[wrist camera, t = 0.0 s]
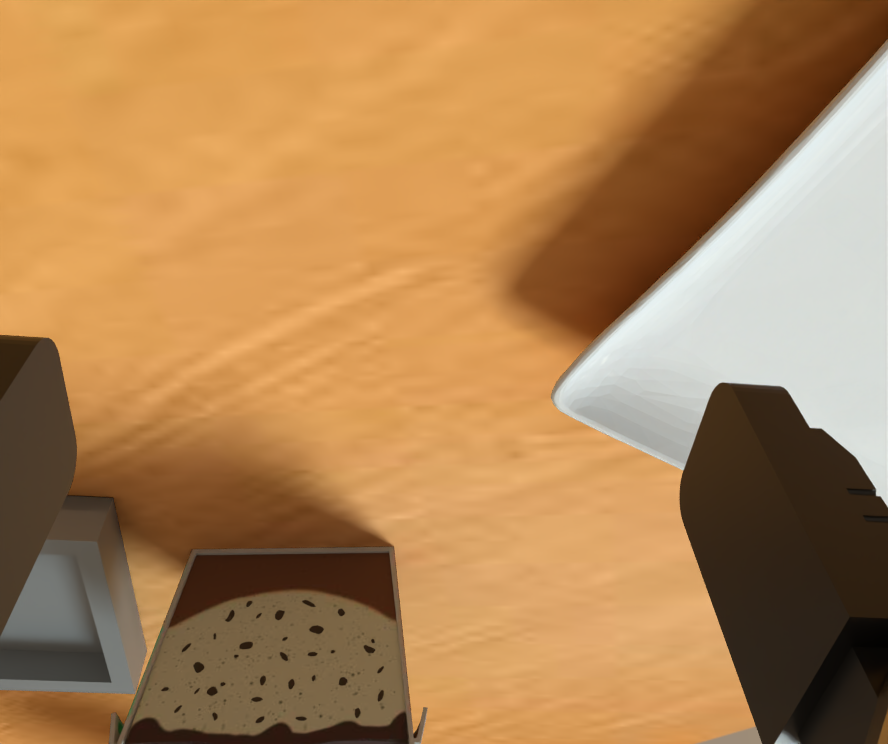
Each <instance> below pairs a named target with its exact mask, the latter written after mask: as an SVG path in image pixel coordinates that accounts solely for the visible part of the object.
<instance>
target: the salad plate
mask: <svg viewBox="0 0 888 744" xmlns="http://www.w3.org/2000/svg"><path fill="white" fill-rule="evenodd" d="M722 382H724V383H740V384H756V385H771V386H781V387H784V388H785V389H786V390H787V391H788V392H789V394H790V395H791V397H792V399H793V400H794V402H795V404H796V405H797V407H798V409H799V410H800V412H801V414H802V415H803V417H804V419H805V420H806V422H807V424H808V425H809V427H810V428H822V429H823V430H824V431H825V432H827V433H828V434H829V435H830V436H831V437H832V438H834V439H835V440H836V441H837V442H838V443H839V444H841V445H842V446H843V447H844V448H845V449H846V450H848V451H849V452H850V453H851V454H852V455H854V456H855V457H856V459H857V460H858V462H859V463H860V465H861V466H862V468H863V469H864V471H865V473H866V474H867V476H868V477H869V479H870V480H871V482H872V484H873V485H874V487H875V488H876V496H881V498H882V499H883V501H884V502H885V504H886V505H887V507H888V39H887V40H886V41H885V43H884V44H883V45H882V46H881V47H880V48H879V49H878V51H877V52H876V53H875V54H874V55H873V56H872V57H871V59H870V60H869V61H868V62H867V63H866V64H865V65H864V66H863V67H862V68H861V69H860V71H859V72H858V73H857V74H856V75H855V76H854V77H853V78H852V79H851V80H850V81H849V82H848V84H847V85H846V86H845V87H844V88H843V89H842V90H841V91H840V92H839V93H838V94H837V95H836V97H835V98H834V99H833V100H832V101H831V102H830V103H829V104H828V105H827V106H826V107H825V108H824V110H823V111H822V112H821V113H820V114H819V115H818V116H817V117H816V118H815V119H814V120H813V121H812V123H811V124H810V125H809V126H808V127H807V128H806V129H805V130H804V131H803V132H802V133H801V134H800V135H799V137H798V138H797V139H796V140H795V141H794V142H793V143H792V144H791V145H790V146H789V147H788V148H787V149H786V151H785V152H784V153H783V154H782V155H781V156H780V157H779V158H778V159H777V160H776V161H775V162H774V163H773V165H772V166H771V167H770V168H769V169H768V170H767V171H766V172H765V173H764V174H763V175H762V176H761V177H760V178H759V179H758V181H757V182H756V183H755V184H754V185H753V186H752V187H751V188H750V189H749V190H748V191H747V192H746V193H745V194H744V195H743V196H742V197H741V198H740V199H739V200H738V201H737V202H736V203H735V204H734V205H733V206H732V207H731V208H730V209H729V210H728V211H727V213H726V214H725V215H724V216H723V217H722V218H721V219H720V220H719V221H718V222H717V223H716V224H715V225H714V226H713V227H712V228H711V229H710V230H709V231H708V232H707V233H706V234H705V235H703V236H702V237H701V238H700V239H699V240H698V241H697V242H696V243H695V244H694V245H693V246H692V247H691V248H690V249H689V250H688V251H687V252H686V253H685V254H684V255H683V256H682V257H681V258H680V259H679V260H678V261H677V262H676V263H675V264H674V265H673V266H672V267H671V268H670V269H669V270H668V271H667V272H665V273H664V274H663V275H662V276H661V277H660V278H659V279H658V280H657V281H656V282H655V283H654V284H653V285H652V286H651V287H650V288H649V289H648V290H647V291H646V292H645V293H644V294H642V295H641V296H640V297H639V298H638V299H637V300H636V301H635V302H634V303H633V304H632V305H631V306H630V307H629V308H628V309H627V310H625V311H624V312H623V313H622V314H621V315H620V316H619V317H618V318H617V319H616V320H615V321H614V322H612V323H611V324H610V325H609V326H608V327H607V328H606V329H605V330H604V331H603V332H602V333H601V334H600V335H598V336H597V337H596V338H595V339H594V340H593V341H592V342H591V343H590V344H589V345H588V347H587V348H586V349H585V350H584V351H583V352H582V353H581V354H580V355H579V356H578V357H577V359H576V360H575V361H574V362H573V363H572V364H571V365H570V367H569V368H568V369H567V370H566V371H565V372H564V373H563V374H562V376H561V377H560V378H559V379H558V381H557V382H556V384H555V386H554V388H553V390H552V394H551V399H552V401H553V404H554V405H555V406H556V407H557V409H559V410H560V411H561V412H563V413H565V414H567V415H568V416H570V417H572V418H574V419H576V420H578V421H580V422H582V423H584V424H586V425H588V426H590V427H592V428H594V429H596V430H598V431H600V432H602V433H604V434H606V435H608V436H611V437H613V438H615V439H617V440H619V441H621V442H624V443H626V444H628V445H630V446H632V447H635V448H637V449H639V450H641V451H643V452H645V453H647V454H649V455H651V456H653V457H656V458H658V459H660V460H662V461H664V462H666V463H668V464H671V465H673V466H675V467H677V468H679V469H682V470H684V468H685V465H686V462H687V459H688V457H689V454H690V451H691V448H692V445H693V443H694V440H695V437H696V434H697V431H698V429H699V426H700V423H701V420H702V417H703V415H704V412H705V409H706V406H707V403H708V401H709V398H710V395H711V393H712V391H713V390H714V388H715V387H716V386H717V385H718V384H719V383H722Z"/></svg>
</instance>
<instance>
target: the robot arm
mask: <svg viewBox="0 0 888 744" xmlns="http://www.w3.org/2000/svg"><path fill="white" fill-rule="evenodd" d="M76 456H77V445H76V436H75V431H74V426H73V421H72V416H71V411H70V406H69V402H68V397H67V392H66V387H65V382H64V377H63V372H62V367H61V362H60V357H59V353H58V350H57V347H56V345H55V343H54V342H53V341H52V340H51V339H49V338H41V337H25V336H9V335H0V636H1V634H2V632H3V630H4V628H5V626H6V624H7V621H8V619H9V617H10V615H11V613H12V611H13V609H14V607H15V604H16V602H17V600H18V598H19V596H20V594H21V592H22V590H23V588H24V585H25V583H26V581H27V579H28V577H29V575H30V573H31V571H32V568H33V566H34V564H35V562H36V560H37V558H38V556H39V554H40V551H41V549H42V547H43V545H44V543H45V541H46V539H47V537H48V534H49V532H50V530H51V528H52V526H53V524H54V522H55V520H56V517H57V515H58V513H59V511H60V509H61V507H62V505H63V503H64V501H65V498H66V496H67V494H68V492H69V490H70V487H71V484H72V481H73V477H74V473H75V467H76ZM680 510H681V516H682V520H683V523H684V526H685V529H686V532H687V535H688V537H689V540H690V543H691V546H692V549H693V551H694V554H695V557H696V560H697V563H698V565H699V568H700V571H701V574H702V577H703V579H704V582H705V585H706V588H707V591H708V593H709V596H710V599H711V602H712V604H713V607H714V610H715V613H716V616H717V618H718V621H719V624H720V627H721V630H722V632H723V635H724V638H725V641H726V644H727V646H728V649H729V652H730V655H731V658H732V660H733V663H734V666H735V669H736V671H737V674H738V677H739V680H740V683H741V685H742V688H743V691H744V694H745V697H746V699H747V702H748V705H749V708H750V711H751V713H752V716H753V719H754V722H755V725H756V727H757V730H758V733H759V736H760V738H761V741H762V744H888V507H887V505H886V504H885V502H884V501H883V499H882V498H881V496H876V488H875V487H874V485H873V484H872V482H871V480H870V479H869V477H868V476H867V474H866V473H865V471H864V469H863V468H862V466H861V465H860V463H859V462H858V460H857V459H856V457H855V456H854V455H852V454H851V453H850V452H849V451H848V450H846V449H845V448H844V447H843V446H842V445H841V444H839V443H838V442H837V441H836V440H835V439H834V438H832V437H831V436H830V435H829V434H828V433H827V432H825V431H824V430H823V429H822V428H810V427H809V425H808V424H807V422H806V420H805V419H804V417H803V415H802V414H801V412H800V410H799V409H798V407H797V405H796V404H795V402H794V400H793V399H792V397H791V395H790V394H789V392H788V391H787V390H786V389H785V388H784V387H781V386H771V385H756V384H740V383H724V382H722V383H719V384H718V385H717V386H716V387H715V388H714V390H713V391H712V393H711V395H710V398H709V401H708V403H707V406H706V409H705V412H704V415H703V417H702V420H701V423H700V426H699V429H698V431H697V434H696V437H695V440H694V443H693V445H692V448H691V451H690V454H689V457H688V459H687V462H686V465H685V468H684V471H683V474H682V478H681V484H680Z"/></svg>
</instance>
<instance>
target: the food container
mask: <svg viewBox="0 0 888 744" xmlns="http://www.w3.org/2000/svg"><path fill="white" fill-rule="evenodd" d="M426 714H427V708H425V707H423V712H422V717H421V721H420V724H419V726H418V728H417V730H416V731H415V733H414V734H413V726H412V716H411V706H410V697H409V687H408V677H407V668H406V658H405V648H404V639H403V629H402V619H401V610H400V600H399V590H398V580H397V571H396V561H395V551H394V547H336V548H259V549H192V551H191V554H190V556H189V559H188V562H187V564H186V567H185V569H184V572H183V574H182V577H181V580H180V582H179V585H178V587H177V590H176V592H175V595H174V598H173V600H172V603H171V605H170V608H169V611H168V613H167V616H166V618H165V621H164V623H163V626H162V629H161V631H160V634H159V636H158V639H157V641H156V644H155V647H154V649H153V652H152V654H151V657H150V660H149V662H148V665H147V667H146V670H145V672H144V675H143V678H142V680H141V683H140V685H139V688H138V690H137V693H136V696H135V698H134V701H133V703H132V706H131V709H130V711H129V714H128V716H127V719H126V721H125V724H123V723H122V722H121V720H120V718H119V717H118V715H117V714H116V713H112V714H111V724H110V737H109V744H421V740H422V736H423V731H424V726H425V721H426Z"/></svg>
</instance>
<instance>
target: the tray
mask: <svg viewBox="0 0 888 744" xmlns="http://www.w3.org/2000/svg"><path fill="white" fill-rule="evenodd" d="M146 653H147V649H146V645H145V640H144V636H143V631H142V627H141V622H140V617H139V613H138V608H137V604H136V599H135V595H134V590H133V586H132V581H131V577H130V572H129V568H128V563H127V558H126V554H125V549H124V545H123V540H122V536H121V531H120V527H119V522H118V518H117V513H116V509H115V504H114V500H113V498H106V497H85V496H66V498H65V501H64V503H63V505H62V507H61V509H60V511H59V513H58V515H57V517H56V520H55V522H54V524H53V526H52V528H51V530H50V532H49V534H48V537H47V539H46V541H45V543H44V545H43V547H42V549H41V551H40V554H39V556H38V558H37V560H36V562H35V564H34V566H33V568H32V571H31V573H30V575H29V577H28V579H27V581H26V583H25V585H24V588H23V590H22V592H21V594H20V596H19V598H18V600H17V602H16V604H15V607H14V609H13V611H12V613H11V615H10V617H9V619H8V621H7V624H6V626H5V628H4V630H3V632H2V634H1V636H0V690H22V691H55V692H88V693H121V694H135V693H136V689H137V685H138V682H139V678H140V675H141V671H142V667H143V664H144V660H145V656H146Z"/></svg>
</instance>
